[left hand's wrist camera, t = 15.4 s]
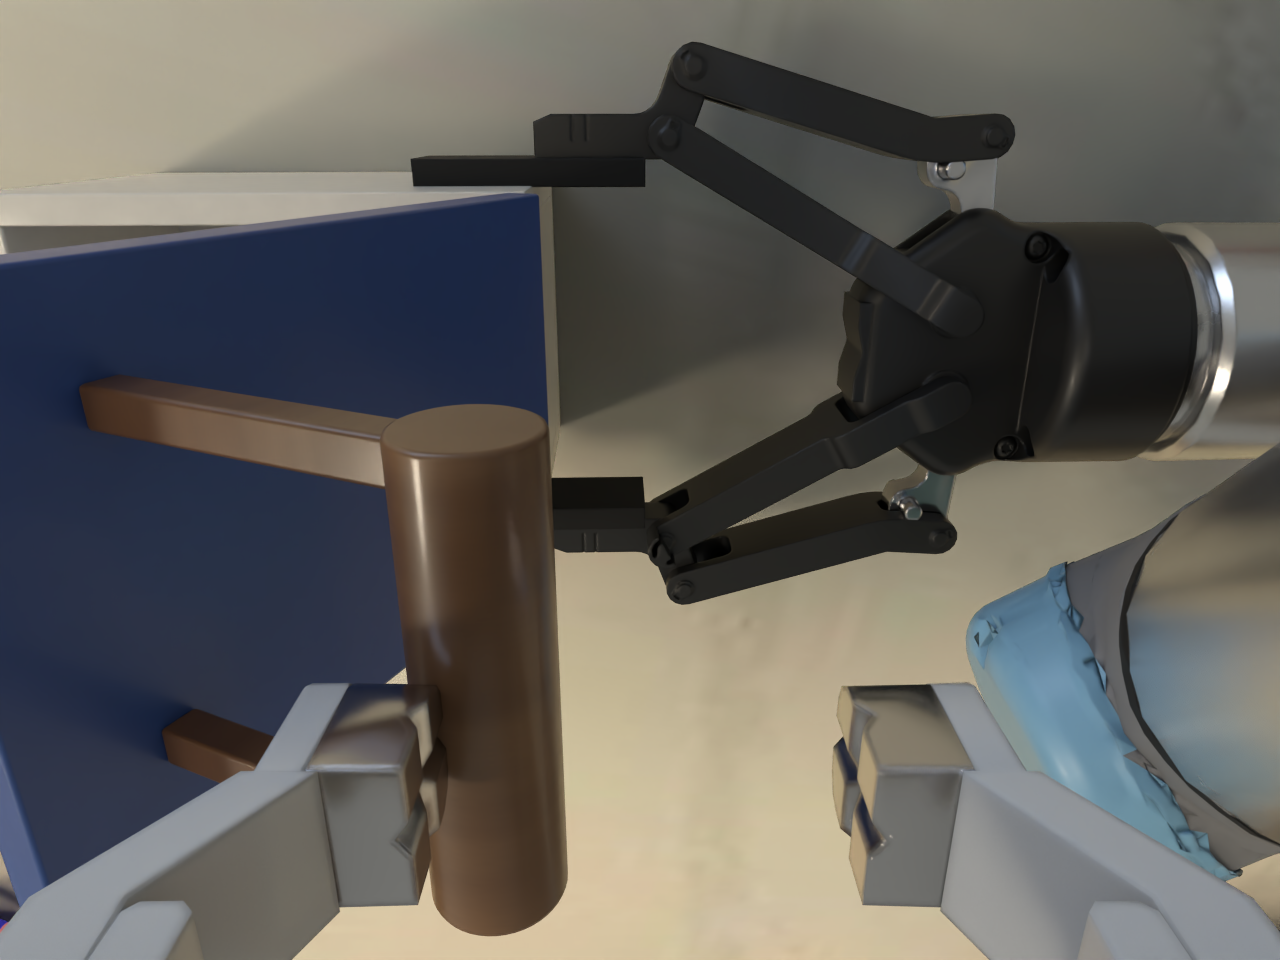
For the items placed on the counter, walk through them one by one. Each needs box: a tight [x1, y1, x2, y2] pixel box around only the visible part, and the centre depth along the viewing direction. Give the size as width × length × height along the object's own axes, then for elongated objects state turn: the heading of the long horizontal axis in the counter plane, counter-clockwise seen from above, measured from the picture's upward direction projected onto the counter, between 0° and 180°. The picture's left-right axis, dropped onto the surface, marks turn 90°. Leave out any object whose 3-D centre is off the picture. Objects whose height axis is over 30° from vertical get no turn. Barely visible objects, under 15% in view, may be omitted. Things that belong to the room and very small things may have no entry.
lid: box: [0, 193, 568, 936], centre depth 17 cm, size 15×10×8 cm
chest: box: [0, 172, 560, 478], centre depth 30 cm, size 14×10×11 cm
